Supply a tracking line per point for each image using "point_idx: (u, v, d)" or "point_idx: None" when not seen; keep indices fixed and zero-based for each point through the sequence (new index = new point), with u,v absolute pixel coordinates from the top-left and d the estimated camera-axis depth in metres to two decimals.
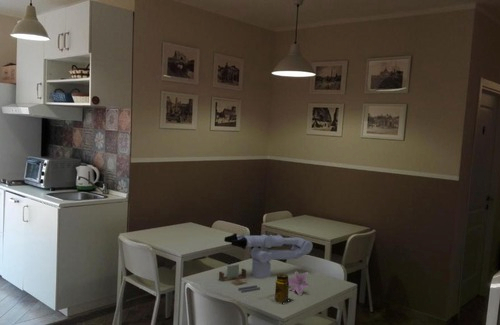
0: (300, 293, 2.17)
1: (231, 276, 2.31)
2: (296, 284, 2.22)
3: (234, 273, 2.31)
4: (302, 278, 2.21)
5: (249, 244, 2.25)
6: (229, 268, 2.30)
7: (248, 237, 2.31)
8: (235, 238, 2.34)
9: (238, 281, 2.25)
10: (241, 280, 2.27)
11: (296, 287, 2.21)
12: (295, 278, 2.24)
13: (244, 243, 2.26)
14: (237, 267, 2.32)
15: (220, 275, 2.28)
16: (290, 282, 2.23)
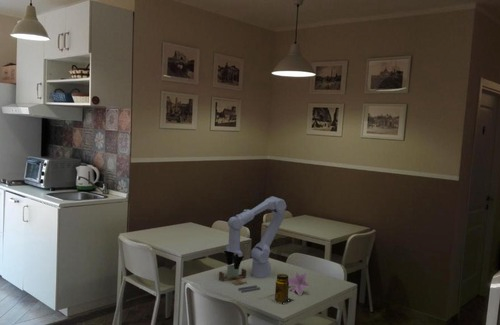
0: (300, 293, 2.17)
1: (231, 276, 2.31)
2: (296, 284, 2.22)
3: (234, 273, 2.31)
4: (302, 279, 2.21)
5: (240, 254, 2.24)
6: (229, 268, 2.30)
7: (231, 247, 2.28)
8: (229, 253, 2.34)
9: (238, 281, 2.25)
10: (241, 280, 2.27)
11: (296, 287, 2.21)
12: (295, 278, 2.23)
13: None
14: None
15: (220, 275, 2.28)
16: (290, 282, 2.23)
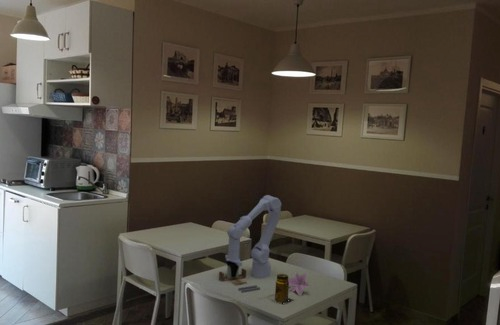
0: (300, 293, 2.17)
1: (231, 276, 2.31)
2: (296, 284, 2.22)
3: None
4: (302, 279, 2.21)
5: (240, 264, 2.25)
6: (229, 268, 2.30)
7: (231, 257, 2.28)
8: None
9: (238, 281, 2.25)
10: (241, 280, 2.27)
11: (296, 287, 2.20)
12: (295, 278, 2.23)
13: None
14: None
15: (220, 275, 2.28)
16: (290, 282, 2.22)
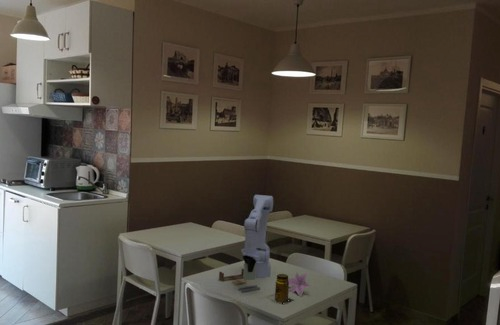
0: (301, 294, 2.16)
1: (248, 275, 2.16)
2: (296, 285, 2.21)
3: (251, 272, 2.17)
4: (302, 279, 2.20)
5: (258, 258, 2.10)
6: (246, 266, 2.15)
7: (248, 251, 2.13)
8: None
9: (238, 281, 2.25)
10: (241, 280, 2.27)
11: (296, 288, 2.20)
12: (295, 278, 2.23)
13: None
14: None
15: (220, 275, 2.28)
16: (290, 283, 2.22)
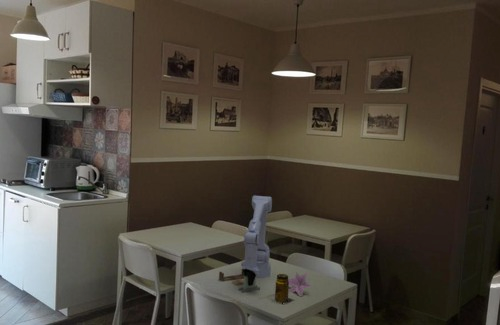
0: (301, 294, 2.16)
1: (248, 287, 2.16)
2: (296, 285, 2.21)
3: None
4: (302, 279, 2.20)
5: (258, 272, 2.10)
6: (246, 279, 2.15)
7: (248, 264, 2.14)
8: None
9: (238, 281, 2.25)
10: (241, 280, 2.27)
11: (296, 288, 2.20)
12: (295, 278, 2.22)
13: None
14: None
15: (220, 275, 2.28)
16: (290, 283, 2.21)
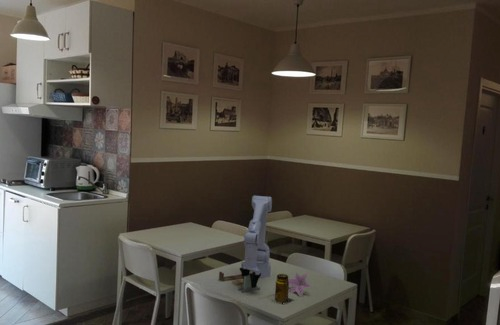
0: (301, 294, 2.16)
1: (248, 287, 2.16)
2: (296, 285, 2.21)
3: None
4: (303, 279, 2.20)
5: (258, 272, 2.10)
6: (246, 279, 2.15)
7: (248, 264, 2.14)
8: (245, 270, 2.19)
9: (238, 281, 2.25)
10: (241, 280, 2.27)
11: (296, 288, 2.19)
12: (295, 279, 2.22)
13: None
14: None
15: (220, 275, 2.28)
16: (290, 283, 2.21)
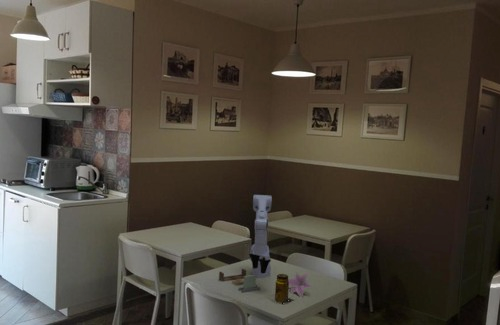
0: (301, 294, 2.16)
1: (248, 287, 2.16)
2: (296, 285, 2.21)
3: (251, 284, 2.17)
4: (303, 280, 2.20)
5: (267, 258, 2.12)
6: (246, 279, 2.15)
7: (257, 250, 2.16)
8: (255, 256, 2.22)
9: (238, 281, 2.25)
10: (241, 280, 2.27)
11: (297, 288, 2.19)
12: (295, 279, 2.22)
13: None
14: (253, 277, 2.17)
15: (220, 275, 2.28)
16: (290, 283, 2.21)
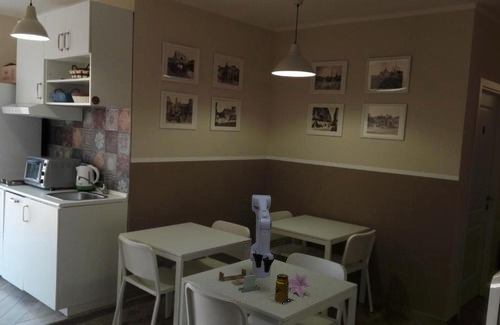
0: (301, 295, 2.15)
1: (248, 287, 2.16)
2: (296, 286, 2.20)
3: (251, 284, 2.17)
4: (303, 280, 2.19)
5: (271, 257, 2.13)
6: (246, 279, 2.15)
7: (261, 250, 2.17)
8: (258, 255, 2.22)
9: (238, 281, 2.25)
10: (241, 280, 2.27)
11: (297, 289, 2.19)
12: (295, 279, 2.22)
13: None
14: (253, 277, 2.17)
15: (220, 275, 2.28)
16: (290, 284, 2.21)
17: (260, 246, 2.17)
